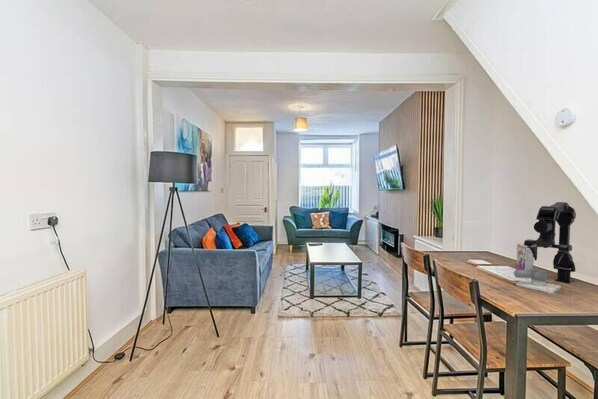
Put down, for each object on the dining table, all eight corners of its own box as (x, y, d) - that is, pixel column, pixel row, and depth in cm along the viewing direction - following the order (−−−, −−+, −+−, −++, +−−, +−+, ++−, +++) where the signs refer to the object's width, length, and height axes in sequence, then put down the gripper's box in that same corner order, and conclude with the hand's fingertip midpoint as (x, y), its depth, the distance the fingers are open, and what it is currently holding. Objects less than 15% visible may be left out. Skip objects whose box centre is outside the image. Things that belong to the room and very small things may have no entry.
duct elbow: (542, 276, 177) (542, 269, 177) (551, 280, 169) (552, 273, 169) (512, 275, 179) (512, 267, 179) (520, 279, 171) (520, 271, 171)
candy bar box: (515, 269, 208) (516, 243, 208) (524, 269, 207) (525, 243, 207) (523, 274, 198) (525, 246, 197) (533, 274, 196) (534, 247, 196)
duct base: (525, 280, 184) (525, 273, 184) (560, 288, 172) (561, 280, 172) (516, 285, 176) (516, 277, 176) (552, 293, 164) (553, 285, 163)
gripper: (520, 230, 169) (518, 260, 170) (565, 235, 154) (563, 268, 155) (529, 228, 176) (527, 257, 177) (573, 233, 161) (571, 265, 162)
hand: (546, 262), depth 167 cm, fingers open, 9 cm apart
